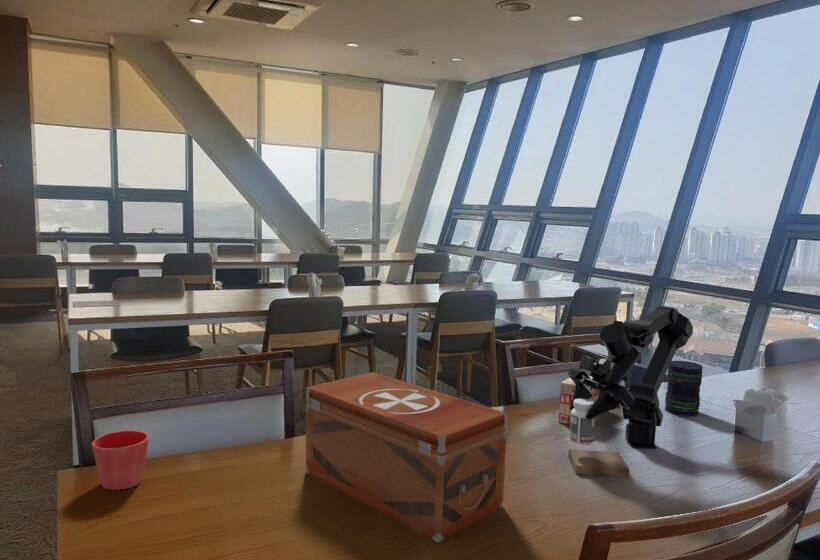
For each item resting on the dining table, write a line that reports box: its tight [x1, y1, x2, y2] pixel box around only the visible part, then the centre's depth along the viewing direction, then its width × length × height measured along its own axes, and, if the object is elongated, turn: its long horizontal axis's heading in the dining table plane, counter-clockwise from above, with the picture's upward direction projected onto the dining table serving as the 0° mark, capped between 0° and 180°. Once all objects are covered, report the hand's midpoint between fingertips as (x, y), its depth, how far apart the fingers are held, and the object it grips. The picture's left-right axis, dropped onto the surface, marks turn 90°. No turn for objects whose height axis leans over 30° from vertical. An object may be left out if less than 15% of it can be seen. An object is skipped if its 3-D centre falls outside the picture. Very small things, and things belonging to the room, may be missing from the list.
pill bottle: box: [569, 399, 596, 446], centre depth 149 cm, size 6×6×10 cm
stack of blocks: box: [558, 375, 599, 426], centre depth 184 cm, size 21×6×12 cm, turn 144°
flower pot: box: [91, 430, 150, 491], centre depth 131 cm, size 11×11×10 cm
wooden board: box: [567, 448, 630, 478], centre depth 148 cm, size 12×10×2 cm
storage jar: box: [664, 360, 703, 418], centre depth 191 cm, size 10×10×15 cm
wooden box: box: [305, 371, 508, 542], centre depth 132 cm, size 20×41×20 cm, turn 46°
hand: (578, 414), depth 148 cm, fingers closed on pill bottle, 6 cm apart
